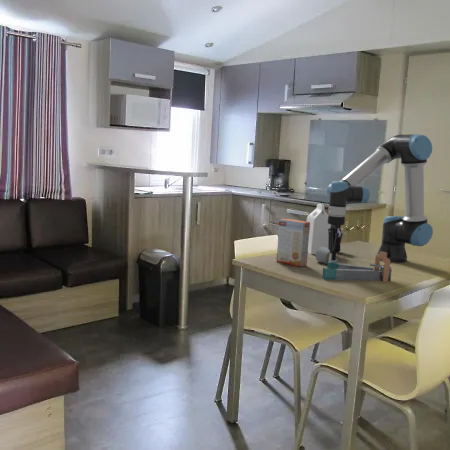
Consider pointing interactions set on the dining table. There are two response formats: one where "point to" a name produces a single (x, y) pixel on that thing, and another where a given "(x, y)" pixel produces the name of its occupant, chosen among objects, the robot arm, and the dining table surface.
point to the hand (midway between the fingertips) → (331, 266)
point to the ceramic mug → (323, 255)
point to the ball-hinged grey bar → (354, 274)
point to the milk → (318, 229)
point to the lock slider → (386, 265)
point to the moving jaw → (353, 266)
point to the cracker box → (293, 242)
